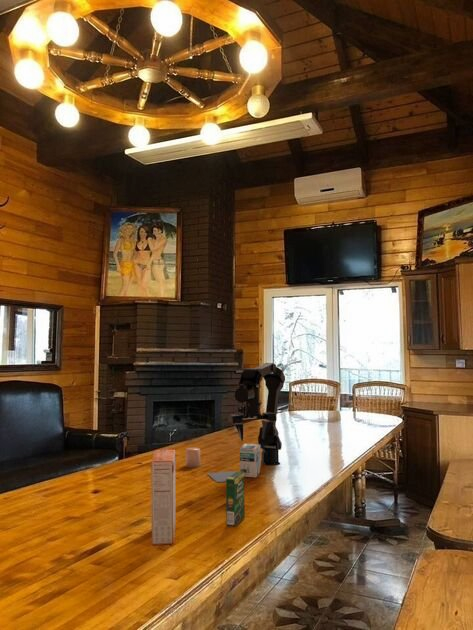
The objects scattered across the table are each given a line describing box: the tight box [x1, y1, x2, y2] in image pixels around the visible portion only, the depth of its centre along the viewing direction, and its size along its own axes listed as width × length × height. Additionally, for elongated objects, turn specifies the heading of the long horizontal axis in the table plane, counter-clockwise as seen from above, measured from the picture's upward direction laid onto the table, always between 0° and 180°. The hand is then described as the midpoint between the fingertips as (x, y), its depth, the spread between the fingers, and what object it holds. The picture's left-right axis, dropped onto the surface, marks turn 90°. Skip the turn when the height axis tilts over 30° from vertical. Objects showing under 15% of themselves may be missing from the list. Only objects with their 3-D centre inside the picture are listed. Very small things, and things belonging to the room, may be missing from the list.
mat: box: [206, 470, 246, 484], centre depth 186 cm, size 11×13×1 cm
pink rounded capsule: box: [185, 447, 201, 469], centre depth 205 cm, size 6×6×7 cm
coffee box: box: [225, 471, 246, 528], centre depth 138 cm, size 8×3×13 cm, turn 159°
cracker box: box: [150, 449, 177, 546], centre depth 130 cm, size 14×6×21 cm, turn 5°
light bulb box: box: [239, 443, 262, 478], centre depth 190 cm, size 11×7×11 cm, turn 168°
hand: (252, 439), depth 192 cm, fingers open, 9 cm apart
